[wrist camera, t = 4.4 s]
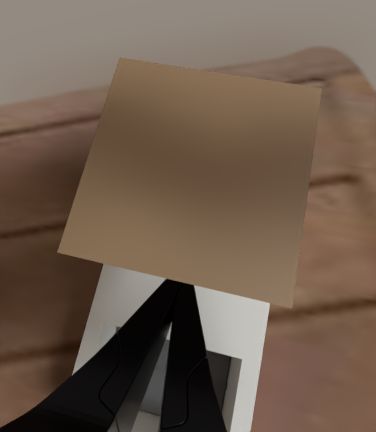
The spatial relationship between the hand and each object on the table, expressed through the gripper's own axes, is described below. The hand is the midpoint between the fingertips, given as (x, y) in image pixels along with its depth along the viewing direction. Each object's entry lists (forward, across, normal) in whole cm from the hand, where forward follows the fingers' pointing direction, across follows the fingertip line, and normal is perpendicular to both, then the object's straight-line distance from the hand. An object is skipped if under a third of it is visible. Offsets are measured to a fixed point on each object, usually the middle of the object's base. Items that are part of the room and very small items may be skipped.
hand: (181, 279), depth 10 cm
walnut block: (+5, 0, 0) cm, 5 cm away
